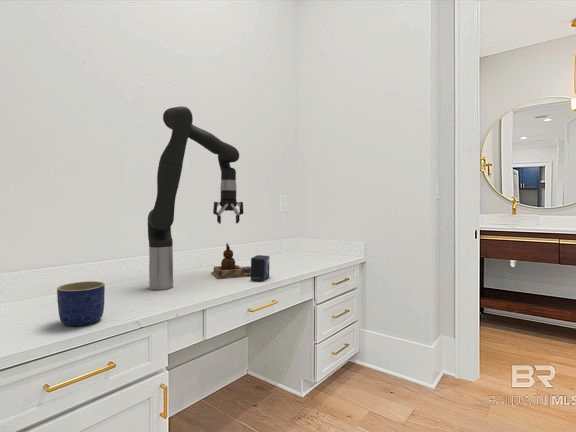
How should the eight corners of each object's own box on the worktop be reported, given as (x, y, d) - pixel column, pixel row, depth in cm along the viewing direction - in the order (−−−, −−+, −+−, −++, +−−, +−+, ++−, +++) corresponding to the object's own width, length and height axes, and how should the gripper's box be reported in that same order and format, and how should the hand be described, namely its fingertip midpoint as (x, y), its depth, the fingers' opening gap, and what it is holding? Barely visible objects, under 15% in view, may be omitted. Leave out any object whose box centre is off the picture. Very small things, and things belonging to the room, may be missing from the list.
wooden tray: (217, 279, 172) (217, 271, 172) (211, 273, 185) (211, 266, 185) (258, 275, 180) (258, 268, 180) (250, 270, 193) (250, 263, 192)
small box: (264, 282, 166) (264, 258, 166) (250, 281, 167) (250, 258, 167) (270, 277, 176) (270, 255, 176) (256, 276, 178) (256, 254, 177)
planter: (47, 326, 108) (46, 288, 107) (84, 313, 119) (84, 279, 119) (79, 331, 103) (78, 292, 103) (114, 318, 115) (114, 283, 114)
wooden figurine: (228, 274, 177) (228, 243, 176) (219, 273, 180) (218, 242, 179) (237, 272, 182) (237, 241, 182) (228, 271, 185) (228, 241, 185)
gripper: (215, 189, 173) (215, 224, 174) (245, 189, 179) (244, 223, 180) (212, 189, 180) (212, 223, 181) (240, 190, 186) (240, 222, 186)
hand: (228, 223), depth 180 cm, fingers open, 8 cm apart
